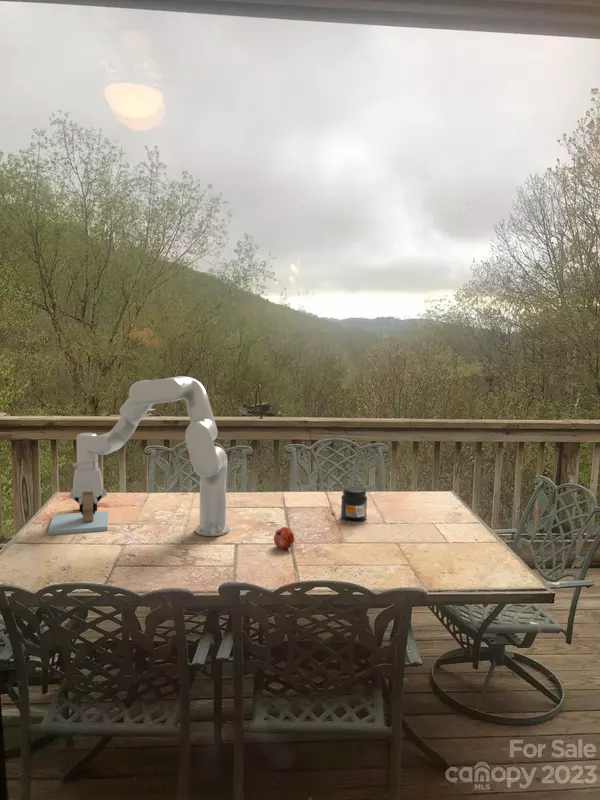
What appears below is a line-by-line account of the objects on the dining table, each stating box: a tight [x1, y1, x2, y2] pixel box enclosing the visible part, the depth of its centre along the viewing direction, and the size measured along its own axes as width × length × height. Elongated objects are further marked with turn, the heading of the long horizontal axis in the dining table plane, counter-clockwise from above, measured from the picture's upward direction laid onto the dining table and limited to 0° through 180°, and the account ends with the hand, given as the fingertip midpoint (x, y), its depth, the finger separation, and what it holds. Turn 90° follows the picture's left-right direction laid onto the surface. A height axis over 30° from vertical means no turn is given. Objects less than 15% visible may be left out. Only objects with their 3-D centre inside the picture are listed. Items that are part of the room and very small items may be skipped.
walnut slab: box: [83, 492, 94, 522], centre depth 208 cm, size 7×4×11 cm, turn 18°
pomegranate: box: [273, 526, 295, 550], centre depth 188 cm, size 7×7×10 cm
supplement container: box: [340, 485, 368, 522], centre depth 223 cm, size 10×10×12 cm
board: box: [47, 510, 109, 536], centre depth 207 cm, size 20×20×2 cm
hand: (88, 512), depth 208 cm, fingers closed on walnut slab, 3 cm apart
